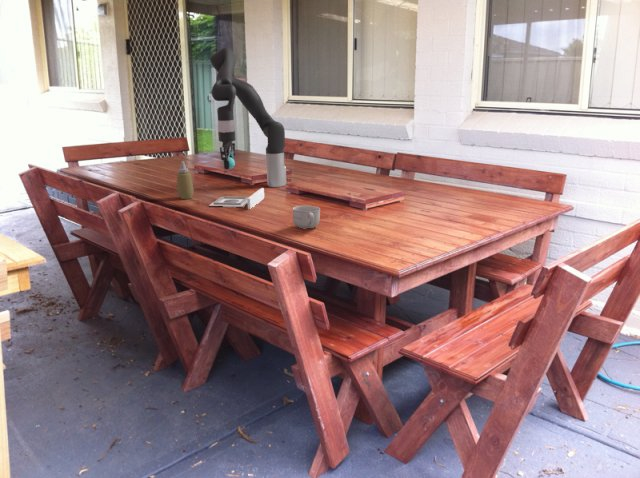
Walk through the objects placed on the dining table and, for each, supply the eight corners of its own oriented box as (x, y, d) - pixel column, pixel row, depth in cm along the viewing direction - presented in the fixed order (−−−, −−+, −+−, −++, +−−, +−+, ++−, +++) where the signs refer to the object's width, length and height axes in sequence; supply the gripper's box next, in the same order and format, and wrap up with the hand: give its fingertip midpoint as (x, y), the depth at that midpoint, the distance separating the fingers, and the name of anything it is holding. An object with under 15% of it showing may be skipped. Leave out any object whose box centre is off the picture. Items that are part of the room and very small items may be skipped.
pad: (221, 198, 288) (221, 195, 288) (253, 199, 285) (253, 196, 285) (209, 206, 273) (208, 203, 273) (242, 207, 270) (242, 204, 270)
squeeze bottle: (197, 196, 294) (194, 160, 289) (189, 200, 287) (185, 162, 281) (183, 195, 296) (179, 159, 291) (174, 199, 289) (170, 162, 284)
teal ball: (229, 167, 278) (229, 155, 277) (237, 168, 275) (236, 156, 273) (220, 169, 274) (219, 157, 273) (228, 170, 271) (227, 158, 269)
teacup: (292, 224, 241) (291, 205, 239) (319, 223, 242) (319, 203, 239) (294, 234, 228) (293, 213, 225) (322, 232, 229) (322, 212, 226)
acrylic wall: (261, 198, 287) (261, 187, 286) (264, 198, 287) (263, 187, 285) (247, 209, 267) (247, 198, 265) (250, 209, 266) (249, 198, 265)
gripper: (224, 128, 277) (226, 164, 282) (212, 132, 263) (215, 170, 268) (239, 128, 275) (241, 165, 280) (229, 132, 262) (231, 170, 267)
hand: (229, 167), depth 274 cm, fingers closed on teal ball, 5 cm apart
